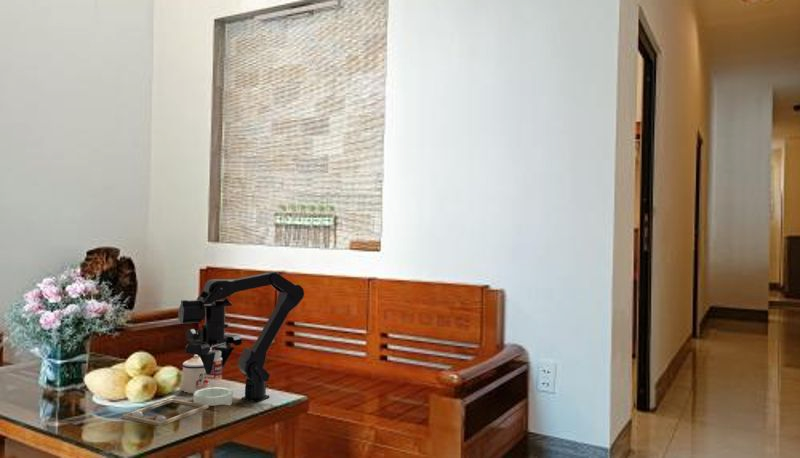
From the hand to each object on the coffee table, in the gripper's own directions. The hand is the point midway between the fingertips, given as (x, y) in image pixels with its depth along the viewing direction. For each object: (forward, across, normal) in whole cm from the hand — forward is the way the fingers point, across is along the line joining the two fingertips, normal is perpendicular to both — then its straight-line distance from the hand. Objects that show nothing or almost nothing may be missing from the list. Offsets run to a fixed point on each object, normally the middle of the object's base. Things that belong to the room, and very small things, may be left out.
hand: (214, 372), depth 180 cm
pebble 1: (+8, +22, -7) cm, 25 cm away
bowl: (+10, 0, 0) cm, 10 cm away
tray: (+10, +16, -3) cm, 19 cm away
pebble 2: (+8, +22, +1) cm, 24 cm away
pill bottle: (+2, 0, 0) cm, 2 cm away
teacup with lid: (+10, -11, -16) cm, 22 cm away
